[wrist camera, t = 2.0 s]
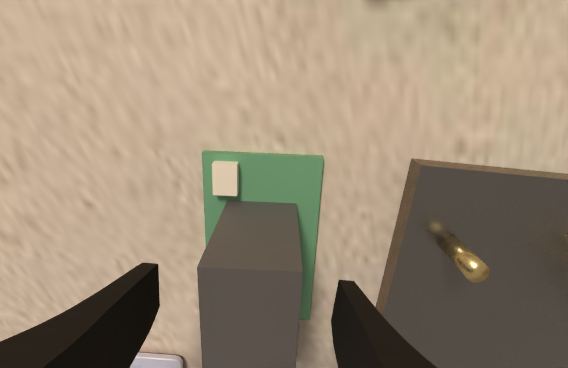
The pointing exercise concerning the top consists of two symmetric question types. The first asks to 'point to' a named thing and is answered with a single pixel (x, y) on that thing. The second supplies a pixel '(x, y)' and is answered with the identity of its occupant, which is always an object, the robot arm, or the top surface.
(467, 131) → the top surface
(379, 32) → the top surface
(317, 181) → the board
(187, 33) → the top surface
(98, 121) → the top surface
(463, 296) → the chassis plate
